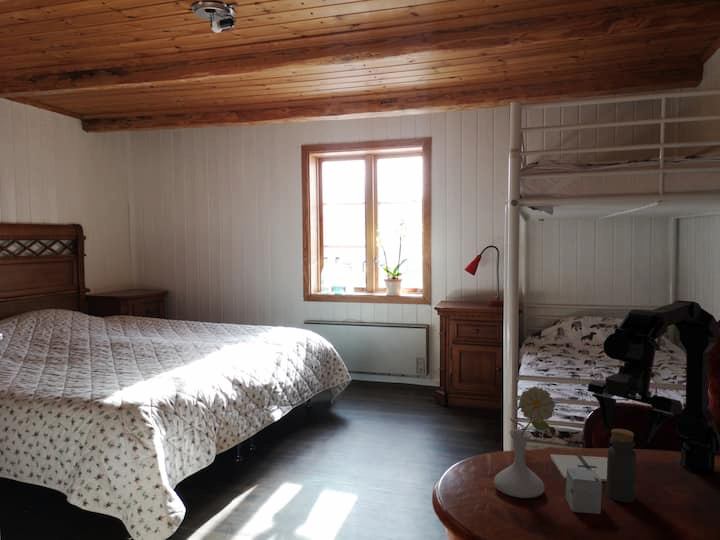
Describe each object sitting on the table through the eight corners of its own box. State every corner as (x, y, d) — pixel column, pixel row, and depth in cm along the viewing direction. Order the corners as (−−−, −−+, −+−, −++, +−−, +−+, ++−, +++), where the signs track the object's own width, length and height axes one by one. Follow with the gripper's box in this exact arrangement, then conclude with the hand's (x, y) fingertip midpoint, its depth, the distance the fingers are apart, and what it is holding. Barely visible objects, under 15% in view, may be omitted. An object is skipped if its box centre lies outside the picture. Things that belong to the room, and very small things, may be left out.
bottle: (638, 503, 117) (640, 437, 117) (609, 501, 119) (612, 435, 118) (630, 491, 123) (632, 428, 122) (603, 489, 124) (605, 426, 124)
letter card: (607, 459, 142) (607, 457, 142) (628, 482, 128) (628, 480, 128) (550, 456, 143) (550, 454, 143) (563, 479, 130) (564, 476, 130)
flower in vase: (490, 497, 120) (492, 388, 118) (496, 477, 130) (499, 377, 129) (551, 509, 115) (554, 395, 114) (553, 486, 125) (556, 382, 124)
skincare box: (564, 498, 120) (566, 466, 119) (593, 501, 119) (594, 468, 118) (571, 512, 114) (573, 478, 113) (601, 514, 113) (602, 480, 112)
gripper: (580, 352, 122) (567, 420, 120) (663, 369, 106) (650, 446, 105) (606, 359, 128) (595, 423, 126) (688, 376, 112) (676, 449, 111)
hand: (626, 434), depth 117 cm, fingers open, 9 cm apart
